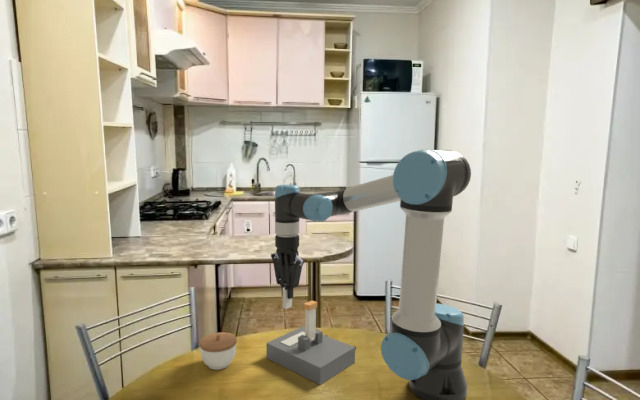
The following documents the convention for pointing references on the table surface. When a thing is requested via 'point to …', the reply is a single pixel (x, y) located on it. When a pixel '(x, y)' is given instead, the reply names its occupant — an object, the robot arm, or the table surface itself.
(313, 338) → the breaker lever
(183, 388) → the table surface
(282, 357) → the breaker box
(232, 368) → the table surface
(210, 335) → the lidded jar
